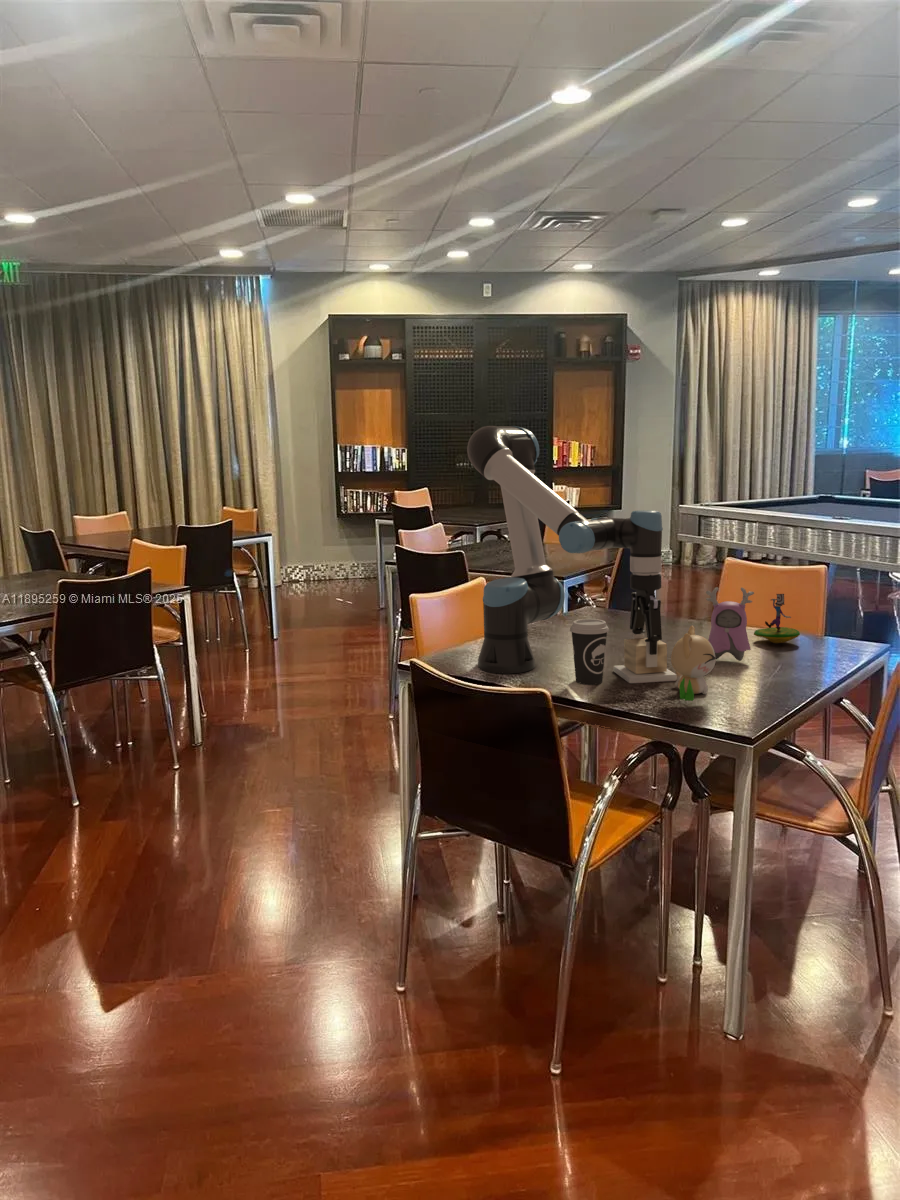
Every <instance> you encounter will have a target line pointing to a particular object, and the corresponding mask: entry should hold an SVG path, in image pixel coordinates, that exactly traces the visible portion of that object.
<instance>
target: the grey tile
mask: <svg viewBox="0 0 900 1200" xmlns="http://www.w3.org/2000/svg"><path fill="white" fill-rule="evenodd" d="M613 672H614V673H615V674H616V675H618V677H620V678H622V679H623V680H625V681H626V682H627V683H628V684H641V683H642V684H643V683H655V682H657V683H659V682H675V681H677V682H678V678H677V675H676V672H673V671H671V670H670V669H668V668H667V672H655V673H642V674H635V673H634V672H632V671H631V670H629V669H628V668H626V667H625V666H624V664H622V665H613Z"/></svg>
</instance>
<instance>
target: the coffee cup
mask: <svg viewBox="0 0 900 1200" xmlns="http://www.w3.org/2000/svg"><path fill="white" fill-rule="evenodd" d="M569 631H570V632H571V639H572V640H571V641H572V650H573V651H572V652H573V653H572V654H573V662H574V663H573V664H574V665H573V666H574V674H575V677H574V678H575V683H577V684H580V685H586V686H588V685H590V686H592V685H593V686H594V685H599V684H602V683H603V679H604V670H605V669H604V668H605V659H606V658H605V657H606V656H605V655H606V645H607V638H608V637H607V636H608V632H610V628H609V627H608V625H607V622H606V621H605V620H603V619H597V618H581V619H575V620H573V621H572V624H571V625H570V627H569Z"/></svg>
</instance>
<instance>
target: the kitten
mask: <svg viewBox="0 0 900 1200" xmlns="http://www.w3.org/2000/svg"><path fill="white" fill-rule="evenodd" d="M695 631H696V628H695V626H694V625H690V626H689V629H688V631H687V633H684V634H683V637H681V638H680V639H678V641H676V643H675V644H674V646H673V648H672V651H671V655H670V656H671V657H670V661H671V666H672V667H673V669H674V671H675V672H674V673H675V674H676V675H677V687H678V689H679V699H680V700H684V702H686V701H691V702H693V701H694V700H695V695H697V694H702V695H704V696H705V695H707V694H708V690H709V687H708V683H707V681H706V679H705V677H704V676H706V675H708V674H709V673H711V671H712V670H713V669H714V667H715V666H716V665H715V664H716V660H717V659H716V658H715V656H717V654H716V653H715V651H714V649H713V647H712V645H711V643H710V642H709V641H708V638H705V637H704V636H702V635H699V634H698V635H697V634H696V633H695Z"/></svg>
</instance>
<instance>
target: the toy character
mask: <svg viewBox="0 0 900 1200" xmlns="http://www.w3.org/2000/svg"><path fill="white" fill-rule="evenodd" d="M719 590H720V589H719V587H718V586H716V587H714V588H713V590H712V591H710V590H705V594H706V595H708V596H710V597H709V598H707V597H706V598H705V599H706V601H707V602H712V607H713V611H712V613H711V617H710V625H711V626H710V632H709V635H708V638H707V640H708V641H709V642H710V643H711V645H712V647H713V649H714V651H715V653H716V654H717V656H715V658H716V660H719V659H720V658H721V657H722V656H723V655H725V654H726V653H729V654H730V655H732V656H733V657H734V658H735V659H736V660H737V661H738V662H740V661H742V660H743V658H744V656H745V652H747V651H750V650H752V649H751V645H750V640H749V638H748V632H747V624H748V618H747V617H748V616H747V612H746V610H745V609H746V604H751V603H753V600H751V599H749V597H750V596H753V595H754V594H755V591H748V592H747V590H746V589H745V588H744V587H740V592H741V593H742V599H741V601H740V603H739V602H738V601H737V602H736V601H731V600H729V601H722V602H720V603H719V601H718V600H717V592H718V591H719Z"/></svg>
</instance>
